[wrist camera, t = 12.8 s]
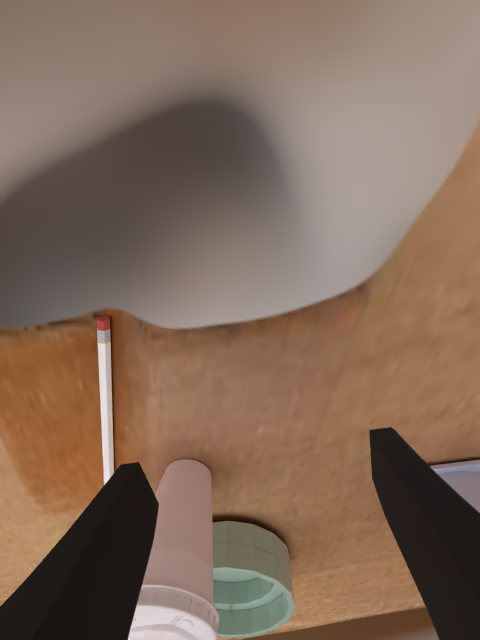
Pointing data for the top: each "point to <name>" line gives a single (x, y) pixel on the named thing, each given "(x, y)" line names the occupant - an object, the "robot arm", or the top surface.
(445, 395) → the top surface
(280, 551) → the lid
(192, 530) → the smoothie
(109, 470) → the pencil
